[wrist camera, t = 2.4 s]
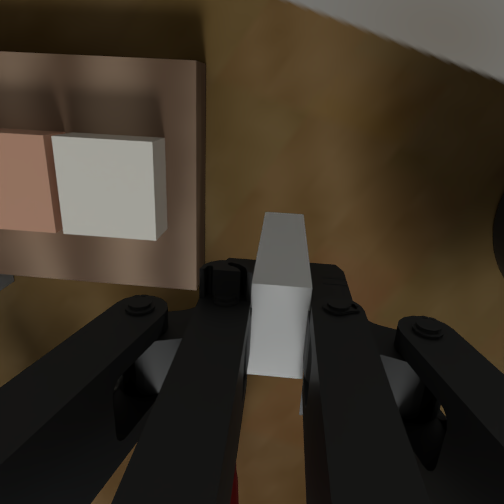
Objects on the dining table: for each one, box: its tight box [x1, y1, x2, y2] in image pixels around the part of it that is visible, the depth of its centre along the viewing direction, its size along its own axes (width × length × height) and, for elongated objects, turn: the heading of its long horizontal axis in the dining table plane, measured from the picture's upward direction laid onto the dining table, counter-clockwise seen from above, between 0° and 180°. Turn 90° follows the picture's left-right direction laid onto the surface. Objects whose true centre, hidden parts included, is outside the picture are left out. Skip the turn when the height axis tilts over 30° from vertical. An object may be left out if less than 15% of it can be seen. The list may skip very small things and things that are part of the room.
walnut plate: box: [0, 51, 206, 290], centre depth 29 cm, size 16×15×3 cm
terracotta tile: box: [0, 128, 65, 233], centre depth 26 cm, size 6×6×2 cm
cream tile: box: [51, 132, 167, 241], centre depth 26 cm, size 6×6×2 cm
